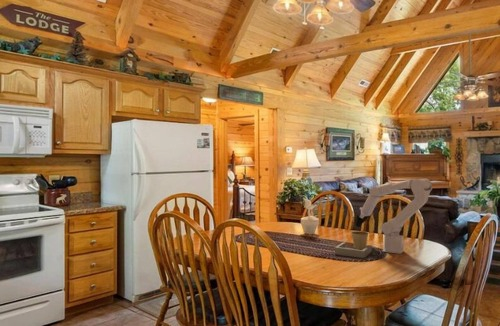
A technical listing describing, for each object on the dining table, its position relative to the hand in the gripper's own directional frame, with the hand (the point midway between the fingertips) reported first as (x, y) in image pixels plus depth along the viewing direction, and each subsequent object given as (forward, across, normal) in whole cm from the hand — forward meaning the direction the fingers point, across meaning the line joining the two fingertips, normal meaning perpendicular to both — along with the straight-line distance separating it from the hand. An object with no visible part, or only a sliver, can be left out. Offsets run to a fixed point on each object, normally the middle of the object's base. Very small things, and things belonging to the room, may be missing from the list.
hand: (359, 224), depth 216 cm
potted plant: (+30, -10, -25) cm, 40 cm away
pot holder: (+5, +22, +7) cm, 24 cm away
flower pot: (+7, +12, +8) cm, 16 cm away
